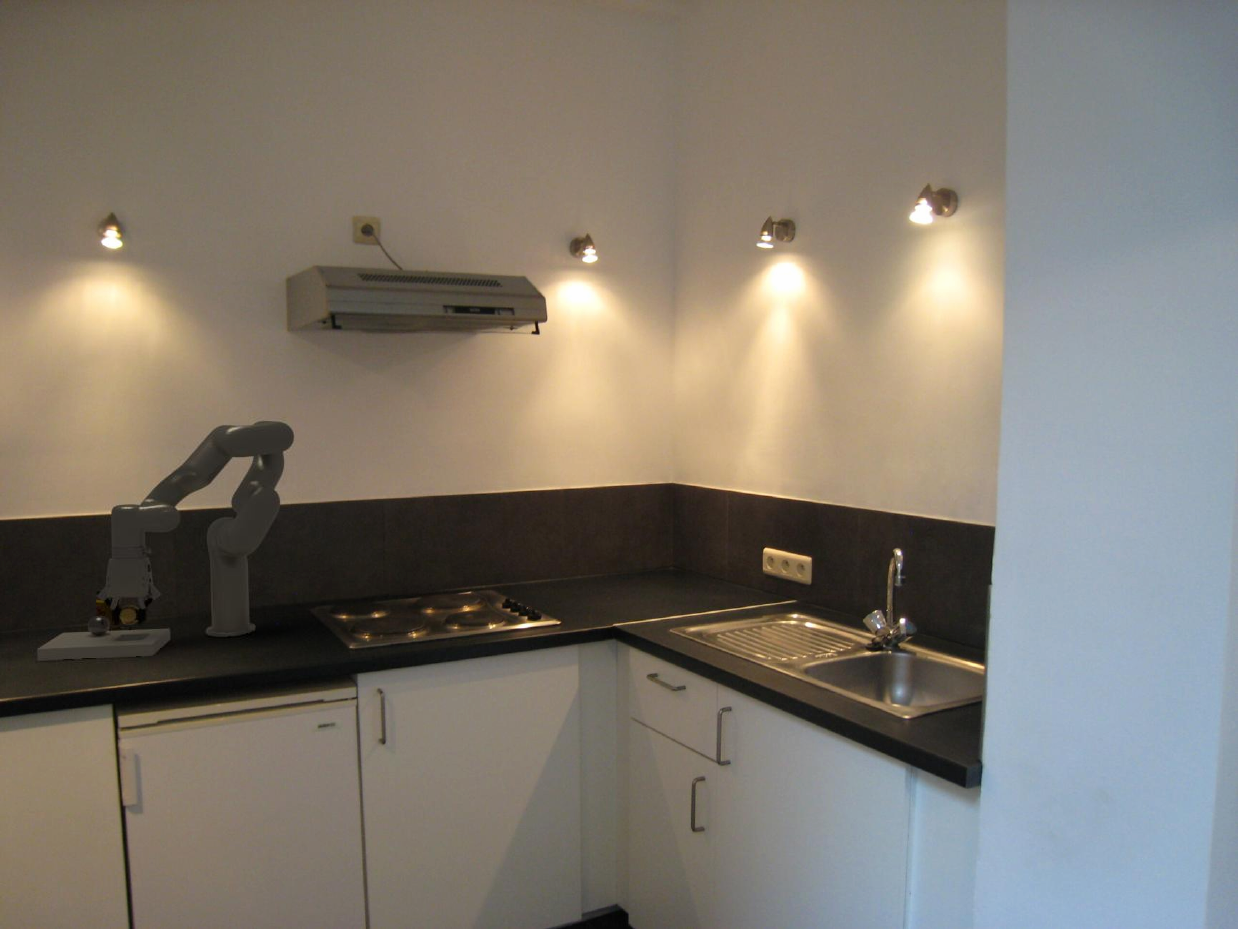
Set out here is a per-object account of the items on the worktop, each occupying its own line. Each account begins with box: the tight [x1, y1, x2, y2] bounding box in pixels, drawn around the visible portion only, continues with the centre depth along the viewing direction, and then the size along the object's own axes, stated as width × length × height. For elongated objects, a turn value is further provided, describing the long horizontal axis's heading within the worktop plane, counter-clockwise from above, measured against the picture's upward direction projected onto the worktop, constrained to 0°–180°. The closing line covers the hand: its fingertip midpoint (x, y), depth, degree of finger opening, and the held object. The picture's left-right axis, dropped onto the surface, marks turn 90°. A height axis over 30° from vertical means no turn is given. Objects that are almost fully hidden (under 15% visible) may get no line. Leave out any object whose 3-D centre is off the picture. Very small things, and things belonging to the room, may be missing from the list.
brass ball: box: [119, 604, 140, 626], centre depth 239 cm, size 5×5×5 cm
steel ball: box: [87, 615, 110, 635], centre depth 242 cm, size 5×5×5 cm
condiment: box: [95, 588, 123, 631], centre depth 257 cm, size 7×8×12 cm
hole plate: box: [36, 628, 171, 662], centre depth 239 cm, size 16×26×3 cm, turn 101°
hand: (129, 623), depth 239 cm, fingers closed on brass ball, 5 cm apart
